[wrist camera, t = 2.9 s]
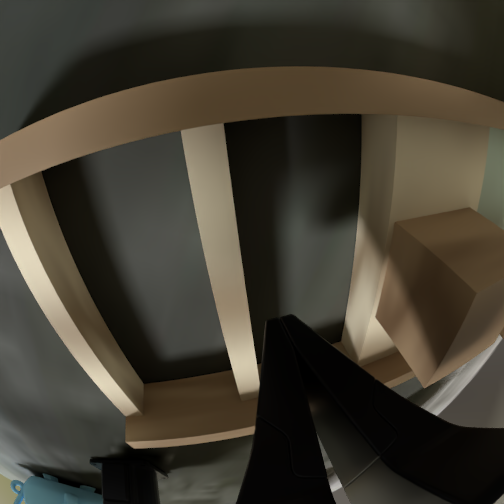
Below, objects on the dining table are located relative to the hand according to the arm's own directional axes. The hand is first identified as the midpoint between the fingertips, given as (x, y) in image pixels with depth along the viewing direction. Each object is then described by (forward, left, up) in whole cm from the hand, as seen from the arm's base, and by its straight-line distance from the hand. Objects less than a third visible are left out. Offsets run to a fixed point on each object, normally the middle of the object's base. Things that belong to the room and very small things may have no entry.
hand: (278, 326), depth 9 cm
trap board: (0, -5, -3) cm, 6 cm away
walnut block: (0, -7, -1) cm, 7 cm away
